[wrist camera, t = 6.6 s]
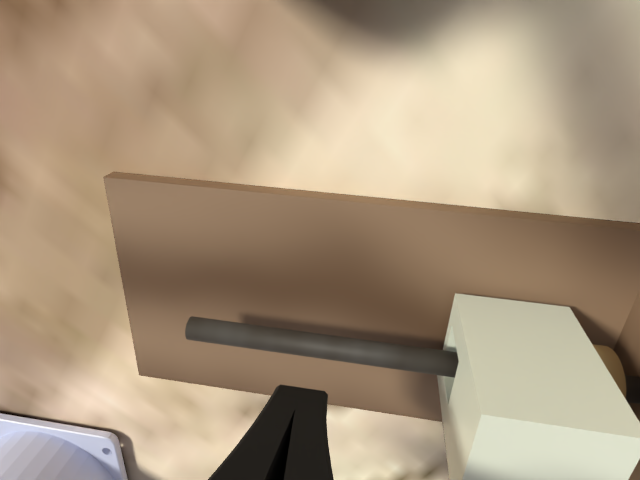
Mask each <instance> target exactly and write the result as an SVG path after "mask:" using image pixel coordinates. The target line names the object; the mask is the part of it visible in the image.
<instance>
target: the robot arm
mask: <svg viewBox="0 0 640 480" xmlns="http://www.w3.org/2000/svg"><path fill="white" fill-rule="evenodd" d="M327 402H328V394H327V393H326V392H325V391H321V390H315V389H308V388H301V387H294V386H287V385H281V384H280V385H279V386H277V387H276V389H275V390H274V392H273V394H272V396H271V397H270V399H269V401H268V402H267V404H266V405H265V407H264V408H263V410H262V411H261V413H260V414H259V416H258V417H257V419H256V420H255V422H254V423H253V424H252V426H251V427H250V428H249V430H248V431H247V432H246V434H245V435H244V436H243V438H242V439H241V440H240V442H239V443H238V444H237V446H236V447H235V448H234V450H233V451H232V452H231V453H230V454H229V456H228V457H227V458H226V459H225V460H224V461H223V463H222V464H221V465H220V466H219V467H218V469H217V470H216V471H215V472H214V473H213V475H212V476H211V477H210V478H209V479H208V480H334V479H333V474H332V468H331V461H330V454H329V447H328V438H327V424H326V415H327ZM0 480H128V479H127V474H126V470H125V466H124V461H123V457H122V452H121V448H120V444H119V440H118V438H117V436H116V435H115V434H113V433H111V432H108V431H102V430H96V429H90V428H84V427H78V426H72V425H66V424H61V423H55V422H49V421H43V420H37V419H31V418H25V417H20V416H14V415H8V414H2V413H0Z"/></svg>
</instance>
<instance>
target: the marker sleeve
mask: <svg viewBox="0 0 640 480" xmlns="http://www.w3.org/2000/svg"><path fill="white" fill-rule="evenodd" d="M443 350H445V351H453V352H457V355H458V360H459V362H458V367H457V371H456V375H455V378H454V377H447V376H440V375H437V379H438V387H439V396H440V404H441V413H442V421H443V430H444V439H445V447H446V456H447V464H448V473H449V480H628V479H629V477H630V476H631V474H632V472H633V470H634V468H635V467H636V465H637V463H638V461H639V459H640V422H639V420H638V419H637V417H636V416H635V414H634V412H633V411H632V409H631V407H630V406H629V404H628V402H627V401H626V399H625V397H624V396H623V394H622V392H621V391H620V389H619V388H618V386H617V384H616V383H615V381H614V379H613V378H612V376H611V374H610V373H609V371H608V369H607V368H606V366H605V365H604V363H603V361H602V360H601V358H600V356H599V355H598V353H597V351H596V350H595V348H594V346H593V345H592V343H591V342H590V340H589V338H588V337H587V335H586V333H585V332H584V330H583V328H582V327H581V325H580V323H579V322H578V320H577V318H576V317H575V315H574V314H573V312H572V310H571V309H570V307H565V306H557V305H549V304H540V303H532V302H524V301H515V300H507V299H499V298H490V297H482V296H474V295H465V294H457V293H455V296H454V300H453V305H452V310H451V314H450V319H449V323H448V328H447V333H446V337H445V342H444V346H443Z"/></svg>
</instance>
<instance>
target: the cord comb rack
mask: <svg viewBox="0 0 640 480" xmlns="http://www.w3.org/2000/svg"><path fill="white" fill-rule="evenodd" d="M103 178H104V183H105V189H106V194H107V200H108V205H109V211H110V216H111V222H112V227H113V233H114V238H115V244H116V250H117V255H118V261H119V266H120V272H121V277H122V283H123V288H124V294H125V299H126V305H127V310H128V316H129V321H130V327H131V333H132V338H133V344H134V349H135V355H136V360H137V366H138V371H139V375H141V376H148V377H154V378H161V379H167V380H174V381H180V382H187V383H193V384H200V385H206V386H213V387H219V388H226V389H232V390H239V391H245V392H252V393H259V394H265V395H272V394H273V392H274V390H275V389H276V387H277V386H279V385H280V384H281V385H287V386H294V387H301V388H308V389H315V390H321V391H325V392H326V393H327V394H328V402H327V404H330V405H337V406H343V407H350V408H356V409H363V410H369V411H376V412H382V413H389V414H395V415H402V416H408V417H415V418H421V419H428V420H434V421H441V422H443V421H442V413H441V404H440V396H439V387H438V379H437V375H440V376H447V377H454V378H455V375H456V371H457V367H458V362H459V360H458V355H457V352H453V351H445V350H443V346H444V342H445V337H446V333H447V328H448V323H449V319H450V314H451V310H452V305H453V300H454V296H455V293H457V294H465V295H474V296H482V297H490V298H499V299H507V300H515V301H524V302H532V303H540V304H549V305H557V306H565V307H570V309H571V310H572V312H573V314H574V315H575V317H576V318H577V320H578V322H579V323H580V325H581V327H582V328H583V330H584V332H585V333H586V335H587V337H588V338H589V340H590V342H591V343H592V345H593V346H594V348H595V350H596V351H597V353H598V355H599V356H600V358H601V360H602V361H603V363H604V365H605V366H606V368H607V369H608V371H609V373H610V374H611V376H612V378H613V379H614V381H615V383H616V384H617V386H618V388H619V389H620V391H621V392H622V394H623V396H624V397H625V399H626V401H627V402H628V404H629V406H630V407H631V409H632V411H633V412H634V414H635V416H636V417H637V419H638V420H639V422H640V223H630V222H620V221H610V220H600V219H590V218H579V217H569V216H559V215H549V214H538V213H528V212H518V211H508V210H498V209H487V208H477V207H467V206H457V205H446V204H436V203H426V202H416V201H406V200H395V199H385V198H375V197H365V196H355V195H344V194H334V193H324V192H314V191H303V190H293V189H283V188H273V187H263V186H252V185H242V184H232V183H222V182H211V181H201V180H191V179H181V178H171V177H160V176H150V175H140V174H130V173H120V172H112V173H110V174H108V175H107V176H105V177H103ZM628 480H640V459H639V461H638V463H637V465H636V467H635V468H634V470H633V472H632V474H631V476H630V477H629V479H628Z"/></svg>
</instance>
